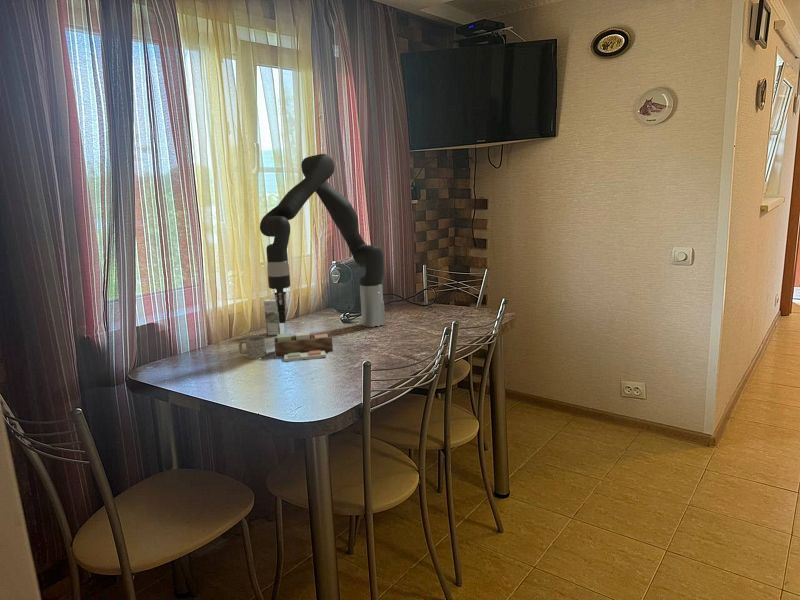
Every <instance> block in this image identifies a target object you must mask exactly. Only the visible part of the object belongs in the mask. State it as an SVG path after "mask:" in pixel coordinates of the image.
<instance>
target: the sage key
mask: <svg viewBox="0 0 800 600" xmlns="http://www.w3.org/2000/svg"><path fill="white" fill-rule="evenodd" d="M291 336H292V333H291V332H289V333H288V332H287V333H283V334H277V335H276V337H277V340H278V342H285V341H292V340H291Z"/></svg>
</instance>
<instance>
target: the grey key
mask: <svg viewBox="0 0 800 600" xmlns="http://www.w3.org/2000/svg"><path fill="white" fill-rule="evenodd" d="M310 334H311V333H310V331H308V330H307V331H298V332H295V336H296V340H305V339H310Z"/></svg>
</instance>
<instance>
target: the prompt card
mask: <svg viewBox="0 0 800 600" xmlns="http://www.w3.org/2000/svg"><path fill="white" fill-rule="evenodd" d="M283 357H284V362H285V361H286V362H293V361H294V360H296V361H303V359H306V360H313V358H315V359H323V358H322V357H325V358H327V355H326V352H325V351H321V350H317V351H309V352H306V353H300V352H297V353H289V354H287V355H284V356H283Z"/></svg>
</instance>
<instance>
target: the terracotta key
mask: <svg viewBox="0 0 800 600" xmlns="http://www.w3.org/2000/svg"><path fill="white" fill-rule="evenodd" d="M326 337H328V334H319V335H314V339H315V338H326Z"/></svg>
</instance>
